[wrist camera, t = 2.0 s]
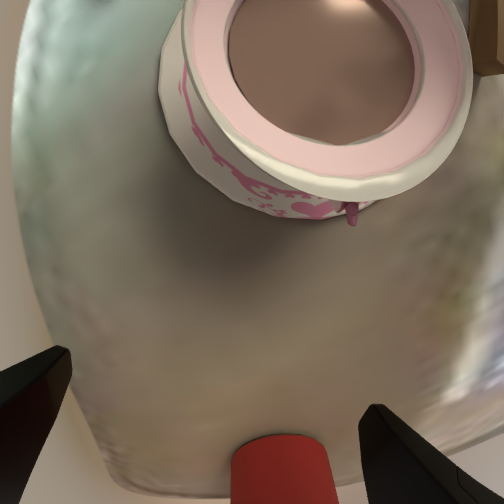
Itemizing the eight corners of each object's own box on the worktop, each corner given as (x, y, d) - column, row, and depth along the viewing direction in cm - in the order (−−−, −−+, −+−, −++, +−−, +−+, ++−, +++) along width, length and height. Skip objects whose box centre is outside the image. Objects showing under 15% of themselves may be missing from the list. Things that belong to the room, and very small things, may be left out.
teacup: (154, -22, 10) (110, -95, 4) (407, -22, 10) (474, -72, 4) (179, 231, 14) (137, 296, 8) (434, 207, 14) (521, 249, 8)
